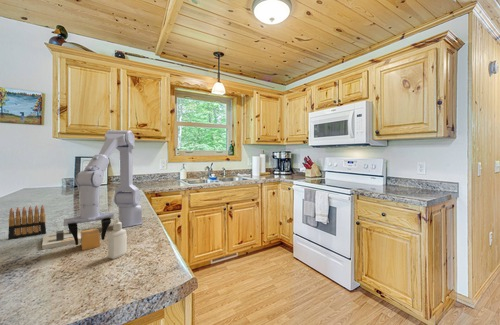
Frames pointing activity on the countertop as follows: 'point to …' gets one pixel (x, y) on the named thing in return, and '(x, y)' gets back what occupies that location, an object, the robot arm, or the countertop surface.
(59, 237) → the block
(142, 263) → the countertop surface
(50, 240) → the panel
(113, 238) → the eye dropper bottle
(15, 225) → the ammunition clip
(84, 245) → the cap
